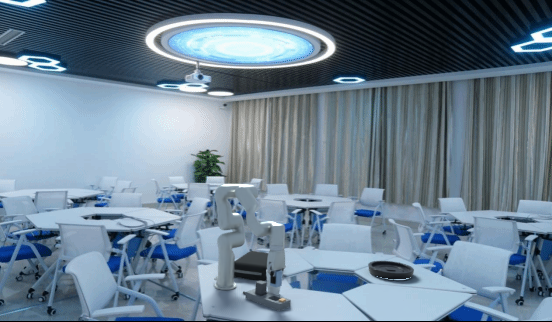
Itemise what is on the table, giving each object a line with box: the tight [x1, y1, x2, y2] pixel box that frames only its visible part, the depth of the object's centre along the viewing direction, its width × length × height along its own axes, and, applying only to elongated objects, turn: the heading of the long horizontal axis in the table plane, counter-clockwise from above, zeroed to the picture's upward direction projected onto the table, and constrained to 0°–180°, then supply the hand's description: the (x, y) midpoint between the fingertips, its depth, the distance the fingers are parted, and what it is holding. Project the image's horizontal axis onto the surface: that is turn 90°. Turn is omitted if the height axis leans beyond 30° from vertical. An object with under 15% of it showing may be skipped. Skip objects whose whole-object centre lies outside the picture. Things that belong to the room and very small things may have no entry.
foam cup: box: [266, 270, 284, 296], centre depth 220 cm, size 10×9×13 cm
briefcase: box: [234, 250, 286, 282], centre depth 258 cm, size 36×32×10 cm
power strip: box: [242, 280, 291, 312], centre depth 209 cm, size 30×9×10 cm, turn 50°
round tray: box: [368, 260, 415, 279], centre depth 267 cm, size 30×6×30 cm
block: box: [270, 270, 283, 288], centre depth 203 cm, size 4×4×8 cm
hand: (275, 282), depth 203 cm, fingers closed on block, 4 cm apart
